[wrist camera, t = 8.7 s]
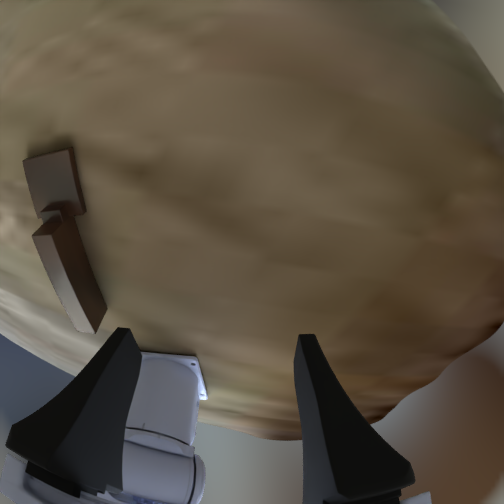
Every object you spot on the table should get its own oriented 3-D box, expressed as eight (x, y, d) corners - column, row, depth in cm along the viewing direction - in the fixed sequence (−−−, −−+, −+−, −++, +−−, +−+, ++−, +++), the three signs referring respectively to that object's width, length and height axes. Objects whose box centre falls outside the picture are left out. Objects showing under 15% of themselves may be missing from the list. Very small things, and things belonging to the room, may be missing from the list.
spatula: (120, 309, 24) (109, 336, 21) (78, 305, 24) (65, 329, 21) (72, 146, 15) (45, 161, 13) (26, 158, 16) (0, 173, 13)
